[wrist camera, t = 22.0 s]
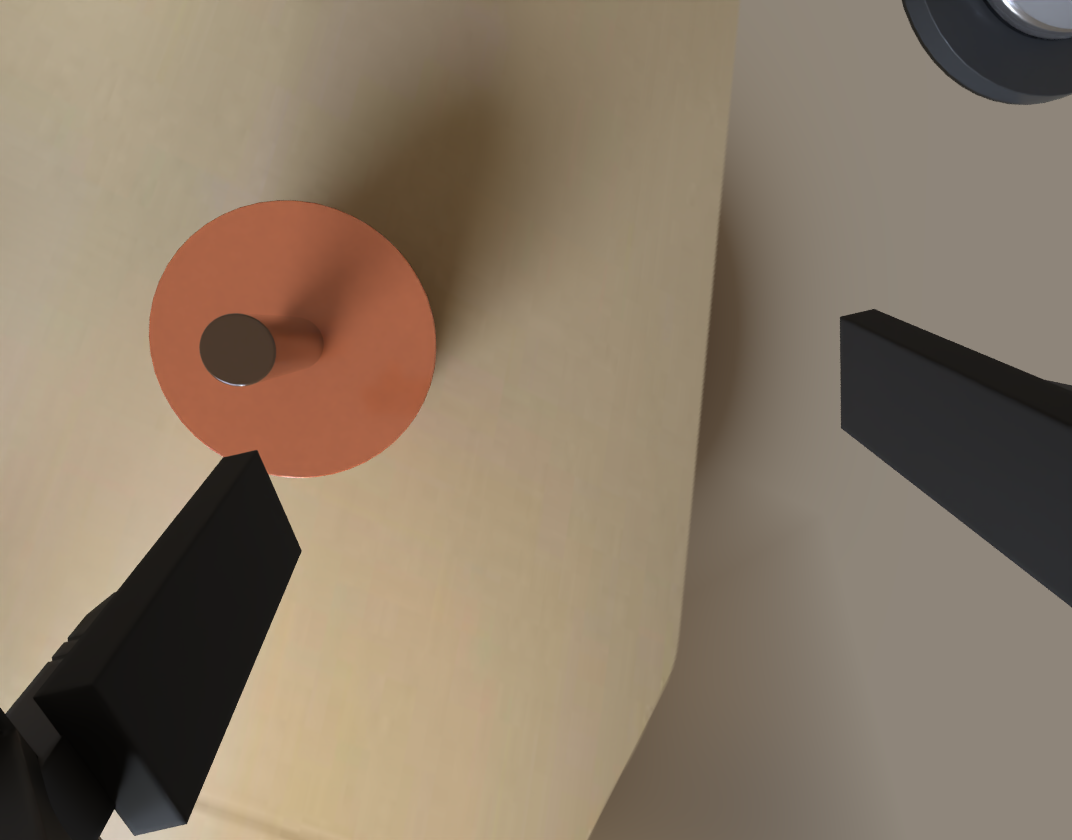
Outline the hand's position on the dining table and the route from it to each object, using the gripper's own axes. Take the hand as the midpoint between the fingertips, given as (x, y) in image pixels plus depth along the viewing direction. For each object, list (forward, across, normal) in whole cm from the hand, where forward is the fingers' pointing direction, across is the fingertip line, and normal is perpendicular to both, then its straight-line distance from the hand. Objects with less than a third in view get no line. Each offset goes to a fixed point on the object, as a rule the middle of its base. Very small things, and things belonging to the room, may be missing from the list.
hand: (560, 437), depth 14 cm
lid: (+19, -11, -1) cm, 22 cm away
